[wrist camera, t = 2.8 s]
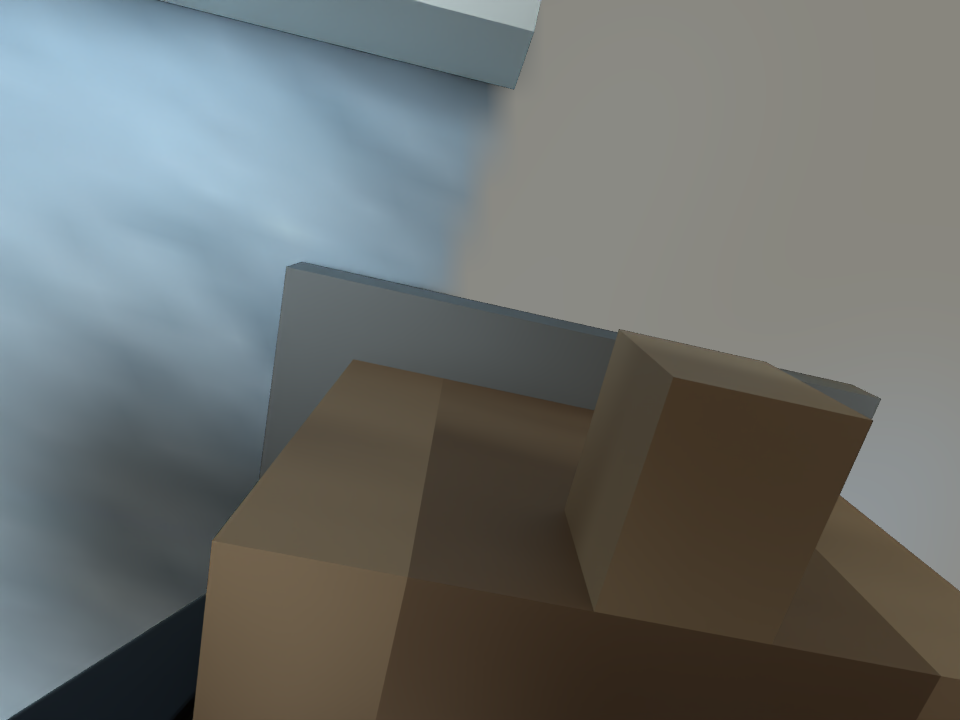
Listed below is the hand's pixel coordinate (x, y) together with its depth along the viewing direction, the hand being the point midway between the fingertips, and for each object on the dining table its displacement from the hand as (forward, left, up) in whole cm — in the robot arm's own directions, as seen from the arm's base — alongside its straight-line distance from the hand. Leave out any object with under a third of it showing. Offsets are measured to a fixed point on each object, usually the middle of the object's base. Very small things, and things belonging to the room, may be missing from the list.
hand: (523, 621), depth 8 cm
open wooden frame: (0, 0, -1) cm, 1 cm away
